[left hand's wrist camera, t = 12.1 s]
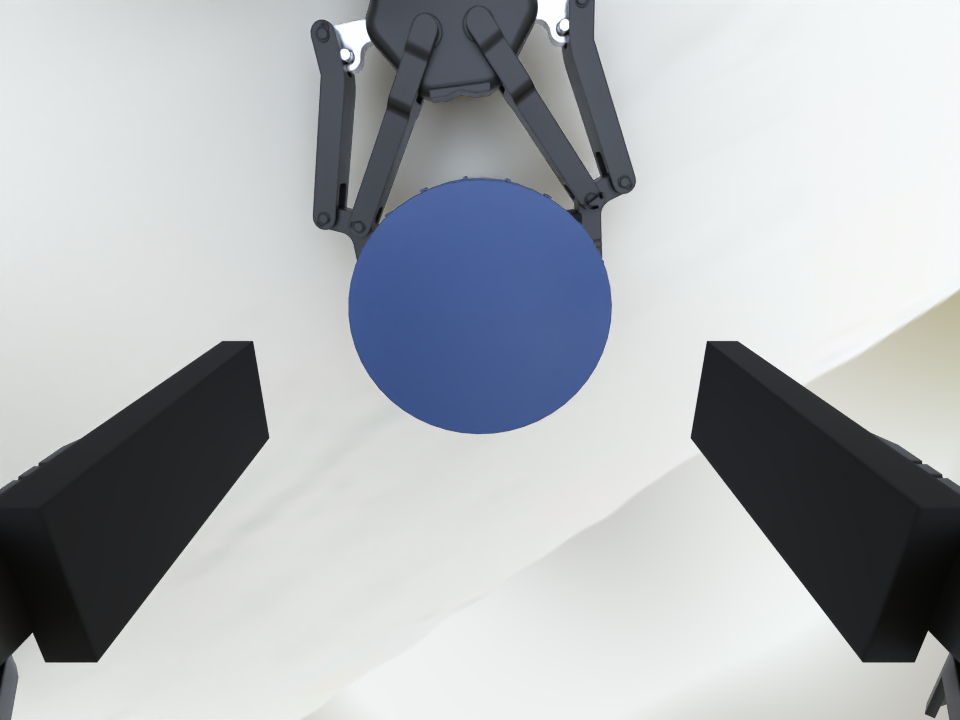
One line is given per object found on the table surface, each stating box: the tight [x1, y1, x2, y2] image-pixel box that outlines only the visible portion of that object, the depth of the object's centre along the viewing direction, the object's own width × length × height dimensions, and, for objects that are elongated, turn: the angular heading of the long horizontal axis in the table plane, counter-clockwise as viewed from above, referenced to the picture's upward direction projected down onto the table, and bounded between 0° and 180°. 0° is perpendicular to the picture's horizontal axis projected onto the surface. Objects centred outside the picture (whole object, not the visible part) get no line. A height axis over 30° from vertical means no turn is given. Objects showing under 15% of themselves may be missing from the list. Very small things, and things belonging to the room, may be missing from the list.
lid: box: [349, 176, 612, 434], centre depth 20 cm, size 10×10×2 cm
